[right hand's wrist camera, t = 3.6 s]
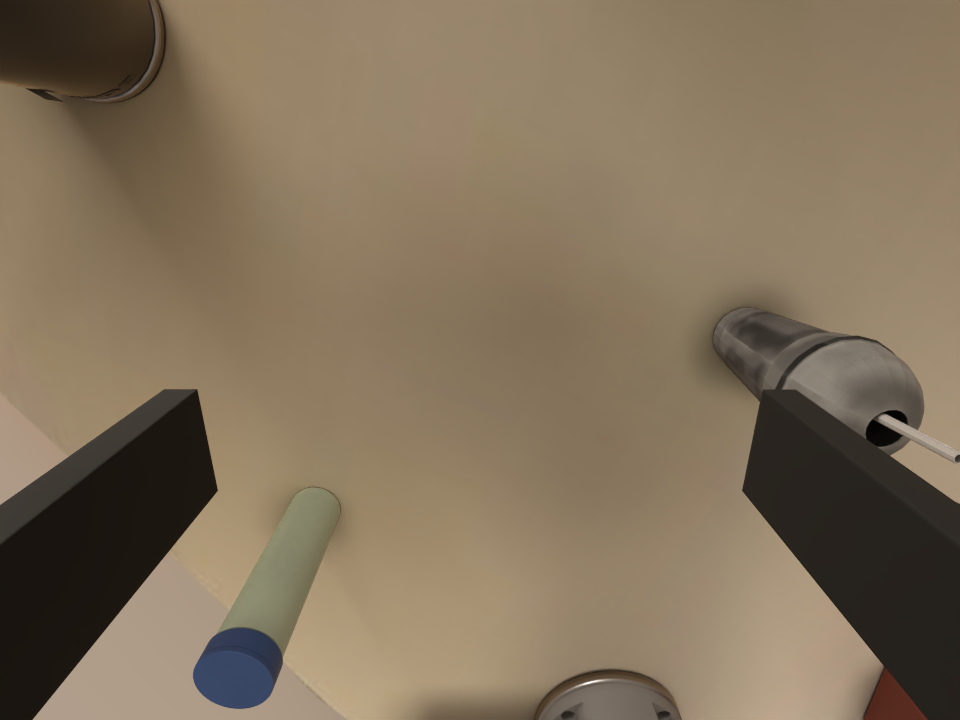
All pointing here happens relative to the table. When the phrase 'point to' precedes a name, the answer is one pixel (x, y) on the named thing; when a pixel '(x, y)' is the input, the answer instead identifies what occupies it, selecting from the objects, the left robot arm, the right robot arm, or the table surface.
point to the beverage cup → (829, 375)
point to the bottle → (286, 568)
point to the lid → (238, 668)
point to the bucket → (892, 702)
